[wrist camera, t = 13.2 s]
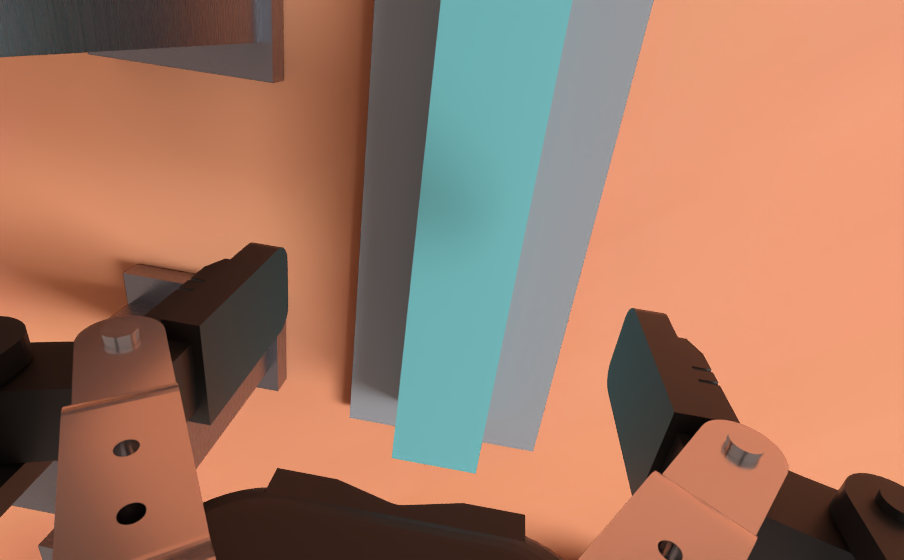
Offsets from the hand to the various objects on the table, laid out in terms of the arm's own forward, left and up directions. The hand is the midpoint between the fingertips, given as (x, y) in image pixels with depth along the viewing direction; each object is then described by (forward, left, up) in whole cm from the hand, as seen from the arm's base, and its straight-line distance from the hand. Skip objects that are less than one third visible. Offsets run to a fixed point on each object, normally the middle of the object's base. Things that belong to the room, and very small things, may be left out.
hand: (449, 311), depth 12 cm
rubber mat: (0, 0, -10) cm, 10 cm away
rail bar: (0, 0, -9) cm, 9 cm away
